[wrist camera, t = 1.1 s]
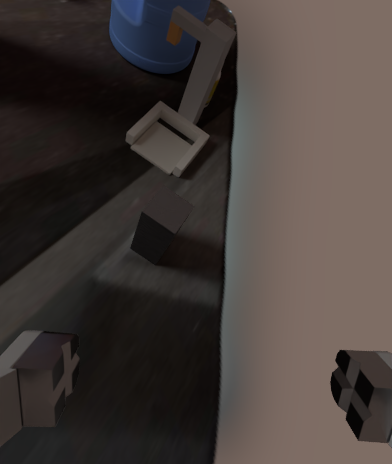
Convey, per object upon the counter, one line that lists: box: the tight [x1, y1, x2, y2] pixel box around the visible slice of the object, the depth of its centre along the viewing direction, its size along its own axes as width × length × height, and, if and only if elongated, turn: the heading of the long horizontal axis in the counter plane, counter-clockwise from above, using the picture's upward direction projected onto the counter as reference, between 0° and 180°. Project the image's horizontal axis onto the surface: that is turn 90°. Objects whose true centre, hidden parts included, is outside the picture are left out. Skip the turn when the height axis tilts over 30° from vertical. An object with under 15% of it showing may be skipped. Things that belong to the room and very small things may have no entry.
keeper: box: [126, 6, 236, 178], centre depth 41 cm, size 12×13×16 cm
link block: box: [130, 185, 194, 265], centre depth 35 cm, size 4×4×11 cm
